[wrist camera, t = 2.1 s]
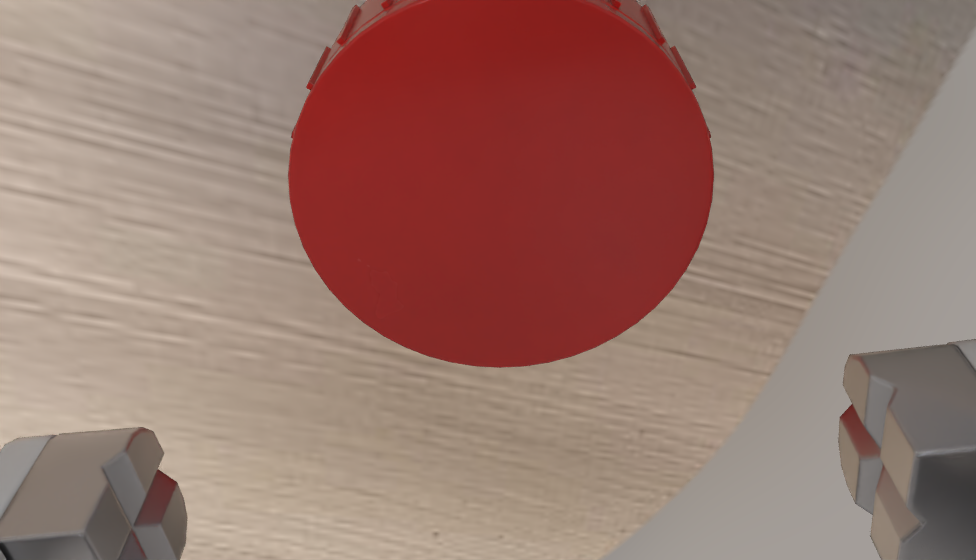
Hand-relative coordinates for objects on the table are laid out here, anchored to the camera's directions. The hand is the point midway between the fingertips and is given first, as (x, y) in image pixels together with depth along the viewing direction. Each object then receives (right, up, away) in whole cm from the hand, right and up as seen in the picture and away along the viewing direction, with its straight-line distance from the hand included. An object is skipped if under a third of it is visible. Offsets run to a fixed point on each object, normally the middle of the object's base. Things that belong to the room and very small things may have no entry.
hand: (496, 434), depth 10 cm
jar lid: (0, +3, +5) cm, 6 cm away
